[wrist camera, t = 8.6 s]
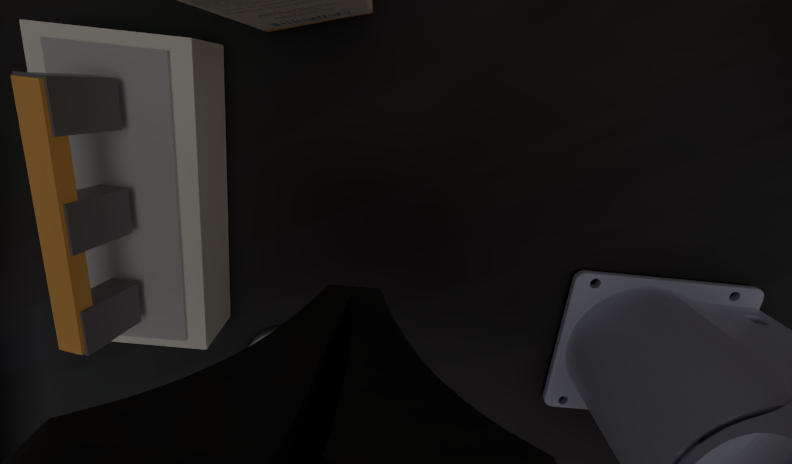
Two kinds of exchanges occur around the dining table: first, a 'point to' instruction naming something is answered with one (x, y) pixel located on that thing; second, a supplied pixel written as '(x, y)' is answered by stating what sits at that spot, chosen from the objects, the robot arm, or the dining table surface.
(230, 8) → the supplement box
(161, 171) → the tray
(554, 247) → the dining table surface
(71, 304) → the bar
